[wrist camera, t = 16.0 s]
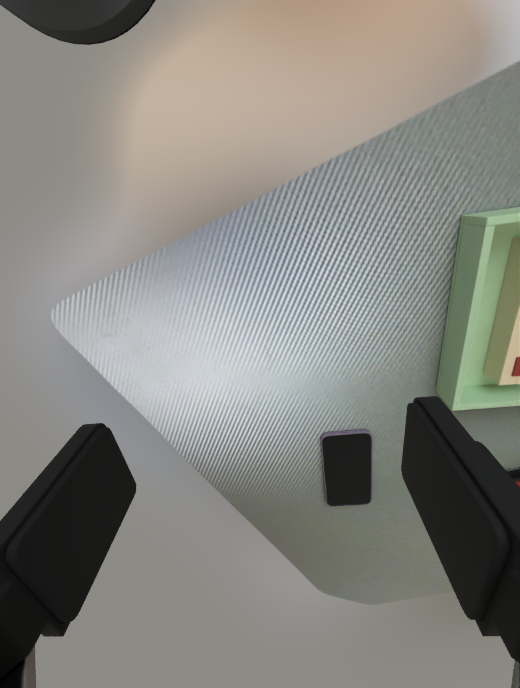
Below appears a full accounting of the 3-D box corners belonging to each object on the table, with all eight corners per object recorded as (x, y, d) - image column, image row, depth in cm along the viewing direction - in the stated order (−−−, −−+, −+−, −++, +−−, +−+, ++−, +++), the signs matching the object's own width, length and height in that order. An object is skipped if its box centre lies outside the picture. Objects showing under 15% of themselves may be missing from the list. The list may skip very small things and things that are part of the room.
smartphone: (372, 431, 42) (372, 504, 48) (370, 426, 43) (370, 498, 49) (320, 436, 42) (326, 506, 48) (319, 430, 43) (325, 500, 50)
